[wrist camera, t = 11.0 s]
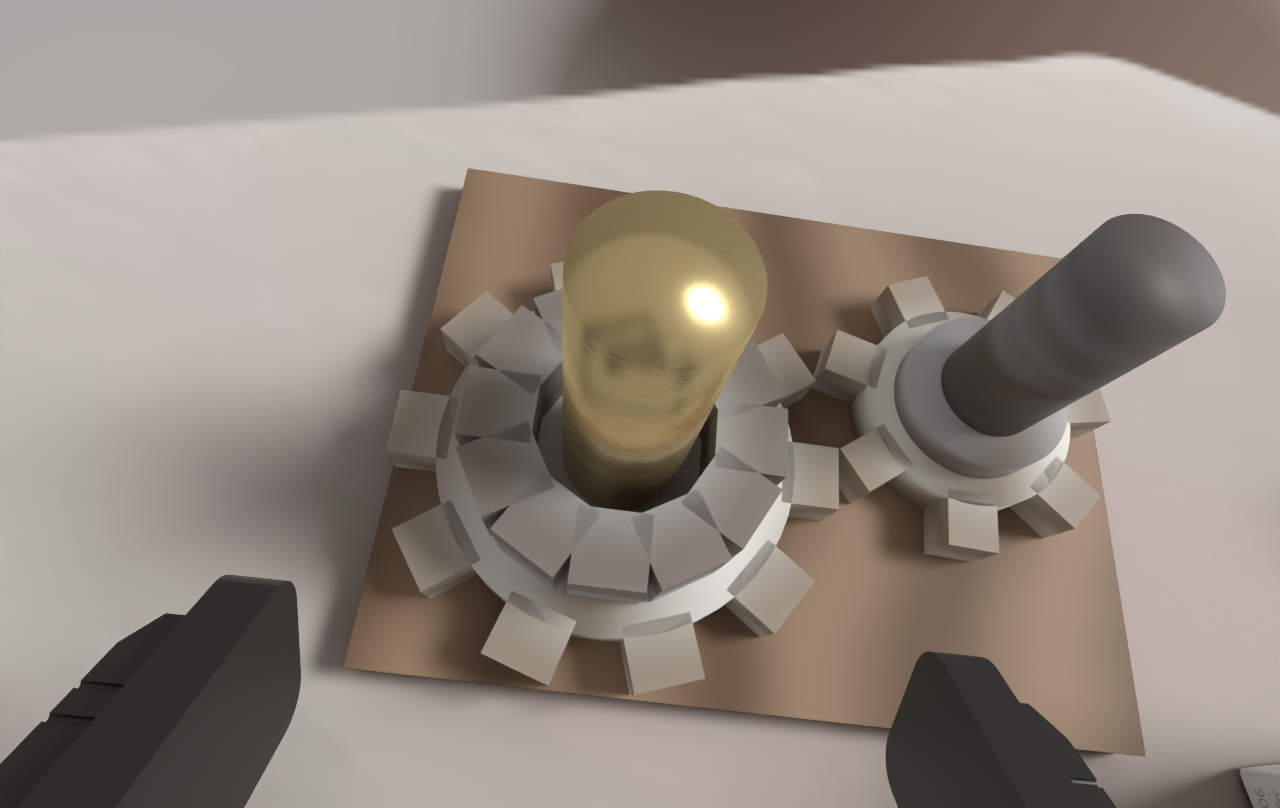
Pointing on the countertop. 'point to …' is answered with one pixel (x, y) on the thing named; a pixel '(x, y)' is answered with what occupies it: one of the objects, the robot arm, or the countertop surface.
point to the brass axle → (650, 338)
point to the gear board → (843, 557)
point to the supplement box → (1262, 785)
